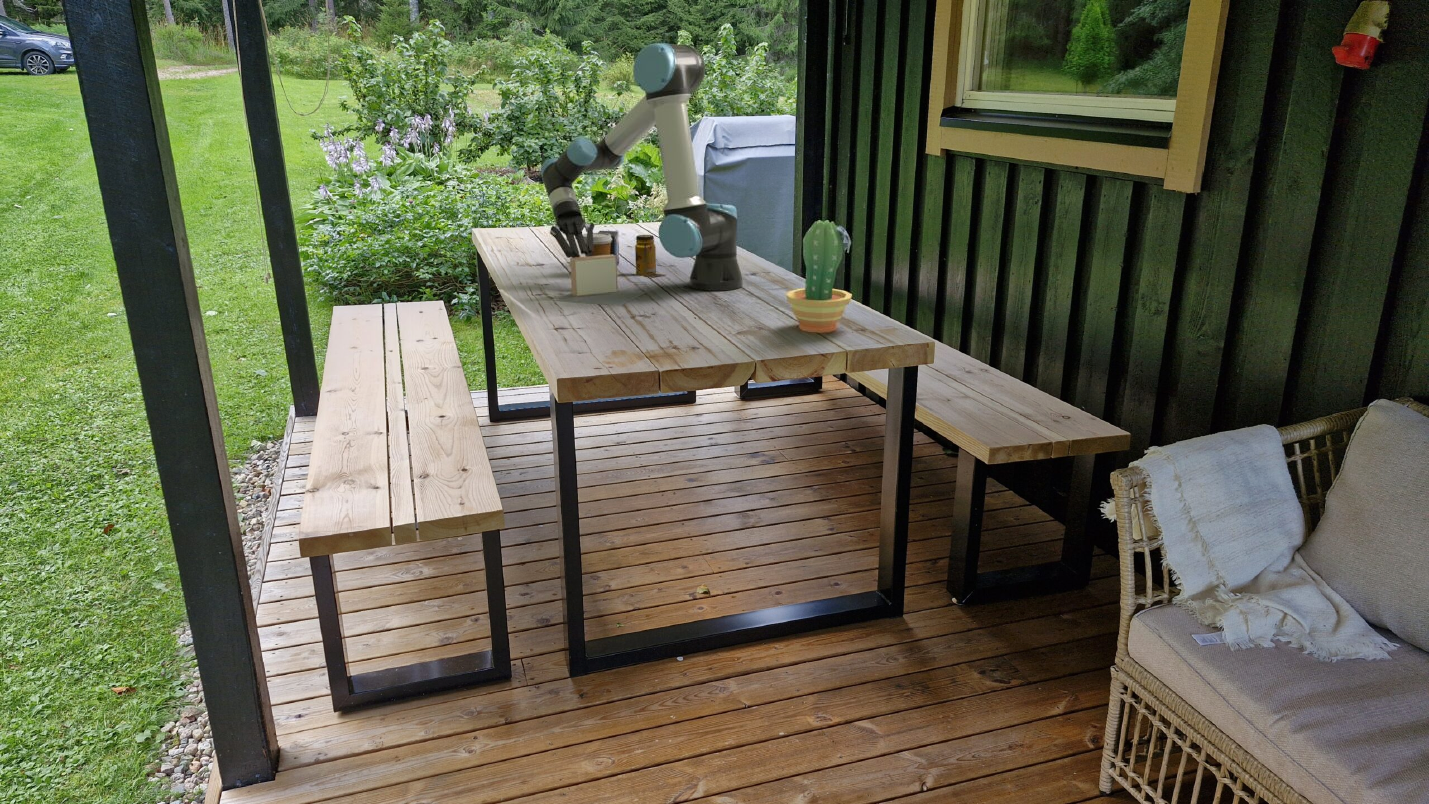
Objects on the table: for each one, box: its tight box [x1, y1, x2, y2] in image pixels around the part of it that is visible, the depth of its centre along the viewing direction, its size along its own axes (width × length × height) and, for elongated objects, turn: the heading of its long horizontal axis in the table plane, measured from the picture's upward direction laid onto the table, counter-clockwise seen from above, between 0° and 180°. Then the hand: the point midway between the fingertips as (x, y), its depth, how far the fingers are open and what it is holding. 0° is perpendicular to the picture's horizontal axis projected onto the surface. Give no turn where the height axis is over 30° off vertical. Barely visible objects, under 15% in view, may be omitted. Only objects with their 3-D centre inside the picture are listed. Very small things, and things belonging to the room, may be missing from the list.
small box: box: [597, 230, 620, 266], centre depth 290 cm, size 11×6×10 cm, turn 179°
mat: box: [554, 289, 647, 307], centre depth 247 cm, size 19×17×1 cm
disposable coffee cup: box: [582, 232, 612, 256], centre depth 276 cm, size 10×10×12 cm
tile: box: [569, 254, 619, 297], centre depth 249 cm, size 3×12×10 cm, turn 117°
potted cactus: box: [785, 219, 853, 334], centre depth 214 cm, size 15×15×25 cm
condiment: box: [633, 234, 666, 279], centre depth 276 cm, size 7×8×12 cm
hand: (587, 275), depth 254 cm, fingers closed
